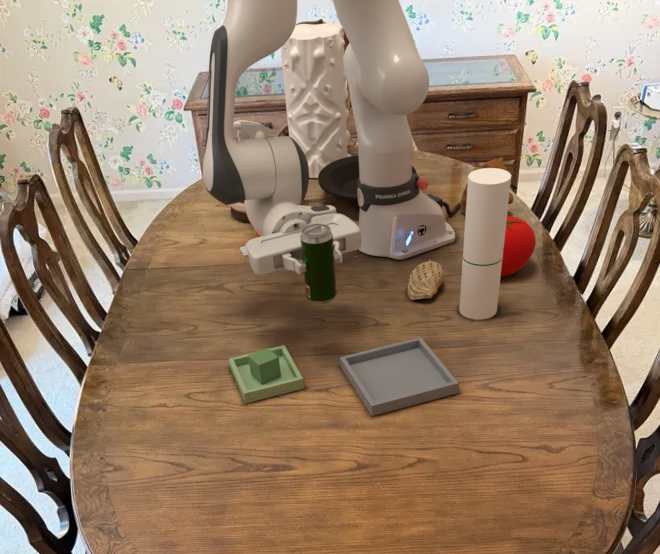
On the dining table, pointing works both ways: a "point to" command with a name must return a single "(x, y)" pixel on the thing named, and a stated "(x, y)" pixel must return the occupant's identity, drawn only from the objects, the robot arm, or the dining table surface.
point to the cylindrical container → (484, 241)
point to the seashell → (425, 280)
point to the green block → (264, 365)
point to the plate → (343, 179)
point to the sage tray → (278, 386)
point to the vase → (316, 93)
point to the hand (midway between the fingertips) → (320, 264)
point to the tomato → (517, 245)
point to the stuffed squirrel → (490, 164)
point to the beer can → (318, 263)
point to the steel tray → (398, 376)
